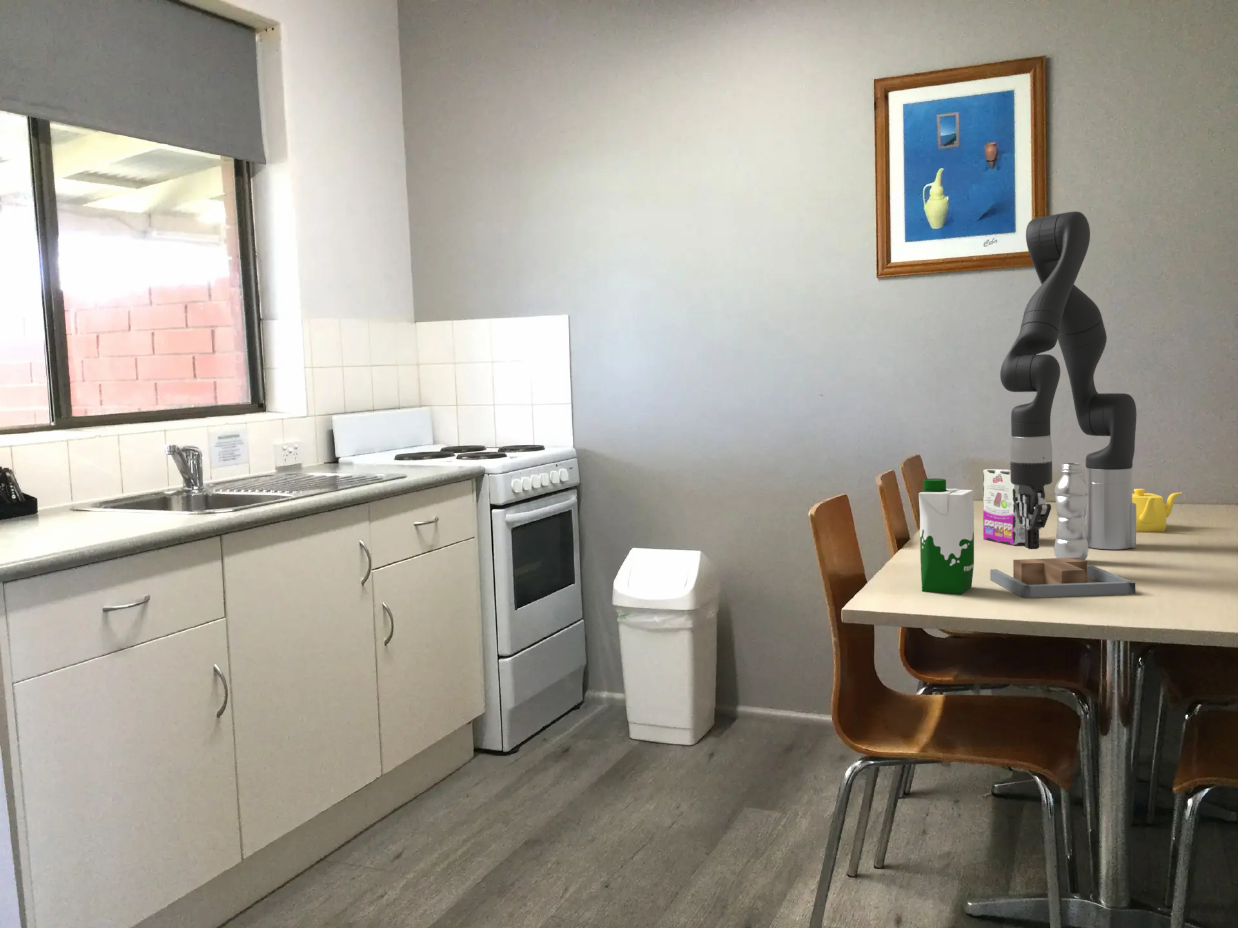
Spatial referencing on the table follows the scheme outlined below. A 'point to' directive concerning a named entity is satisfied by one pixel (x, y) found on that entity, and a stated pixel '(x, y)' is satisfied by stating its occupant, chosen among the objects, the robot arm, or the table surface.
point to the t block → (1050, 571)
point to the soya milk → (946, 537)
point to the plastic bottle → (1071, 513)
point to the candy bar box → (1000, 508)
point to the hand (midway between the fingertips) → (1032, 548)
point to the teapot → (1151, 510)
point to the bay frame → (1068, 585)
